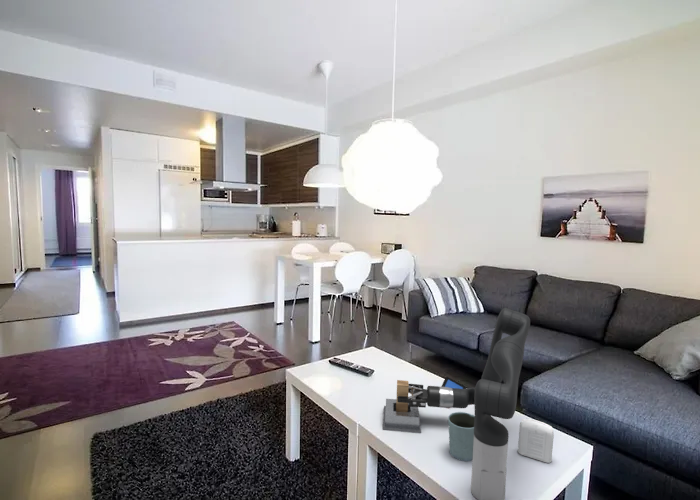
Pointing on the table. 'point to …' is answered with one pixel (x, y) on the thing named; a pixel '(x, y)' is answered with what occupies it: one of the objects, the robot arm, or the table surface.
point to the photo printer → (535, 440)
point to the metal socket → (401, 418)
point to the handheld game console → (452, 384)
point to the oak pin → (402, 391)
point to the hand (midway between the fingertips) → (397, 393)
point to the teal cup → (461, 435)
